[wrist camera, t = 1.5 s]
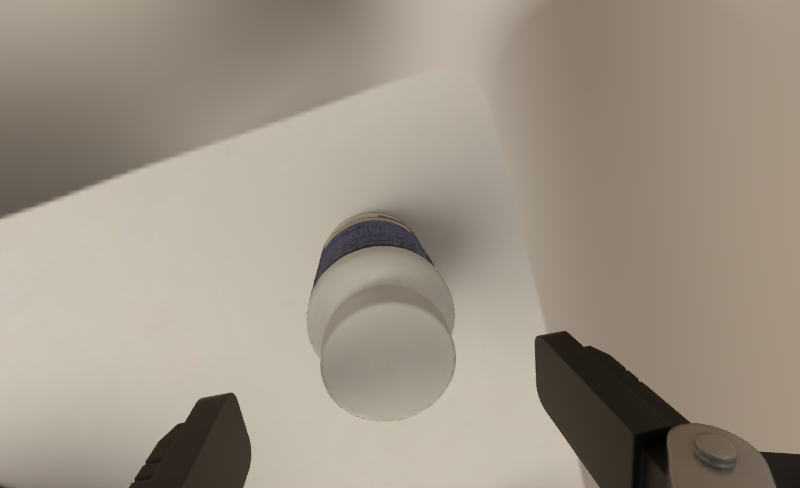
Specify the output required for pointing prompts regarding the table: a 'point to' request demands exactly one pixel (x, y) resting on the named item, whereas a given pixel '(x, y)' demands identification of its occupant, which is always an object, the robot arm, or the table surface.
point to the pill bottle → (381, 320)
